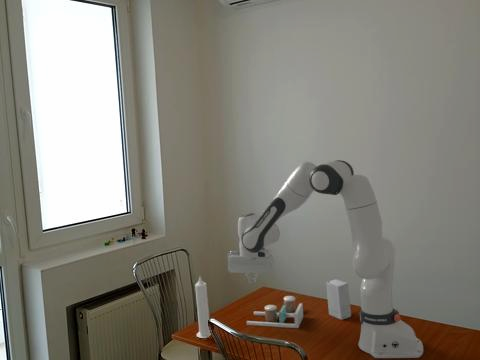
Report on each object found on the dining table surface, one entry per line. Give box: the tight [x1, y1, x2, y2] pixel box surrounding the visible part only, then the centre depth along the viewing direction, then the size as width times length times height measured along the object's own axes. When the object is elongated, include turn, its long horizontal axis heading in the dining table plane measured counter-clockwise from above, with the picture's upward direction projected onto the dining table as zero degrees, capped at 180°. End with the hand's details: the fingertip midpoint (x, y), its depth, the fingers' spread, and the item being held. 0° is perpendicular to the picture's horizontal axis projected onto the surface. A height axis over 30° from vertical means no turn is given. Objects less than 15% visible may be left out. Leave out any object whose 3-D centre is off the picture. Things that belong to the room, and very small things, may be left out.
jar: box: [283, 295, 297, 314], centre depth 212 cm, size 5×5×6 cm
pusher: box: [278, 304, 289, 323], centre depth 202 cm, size 3×8×5 cm, turn 162°
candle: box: [194, 276, 211, 339], centre depth 193 cm, size 7×7×25 cm
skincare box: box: [325, 278, 352, 321], centre depth 203 cm, size 8×6×15 cm
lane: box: [246, 302, 304, 329], centre depth 204 cm, size 22×11×6 cm, turn 72°
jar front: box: [264, 304, 278, 323], centre depth 204 cm, size 5×5×6 cm
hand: (252, 282), depth 205 cm, fingers closed
